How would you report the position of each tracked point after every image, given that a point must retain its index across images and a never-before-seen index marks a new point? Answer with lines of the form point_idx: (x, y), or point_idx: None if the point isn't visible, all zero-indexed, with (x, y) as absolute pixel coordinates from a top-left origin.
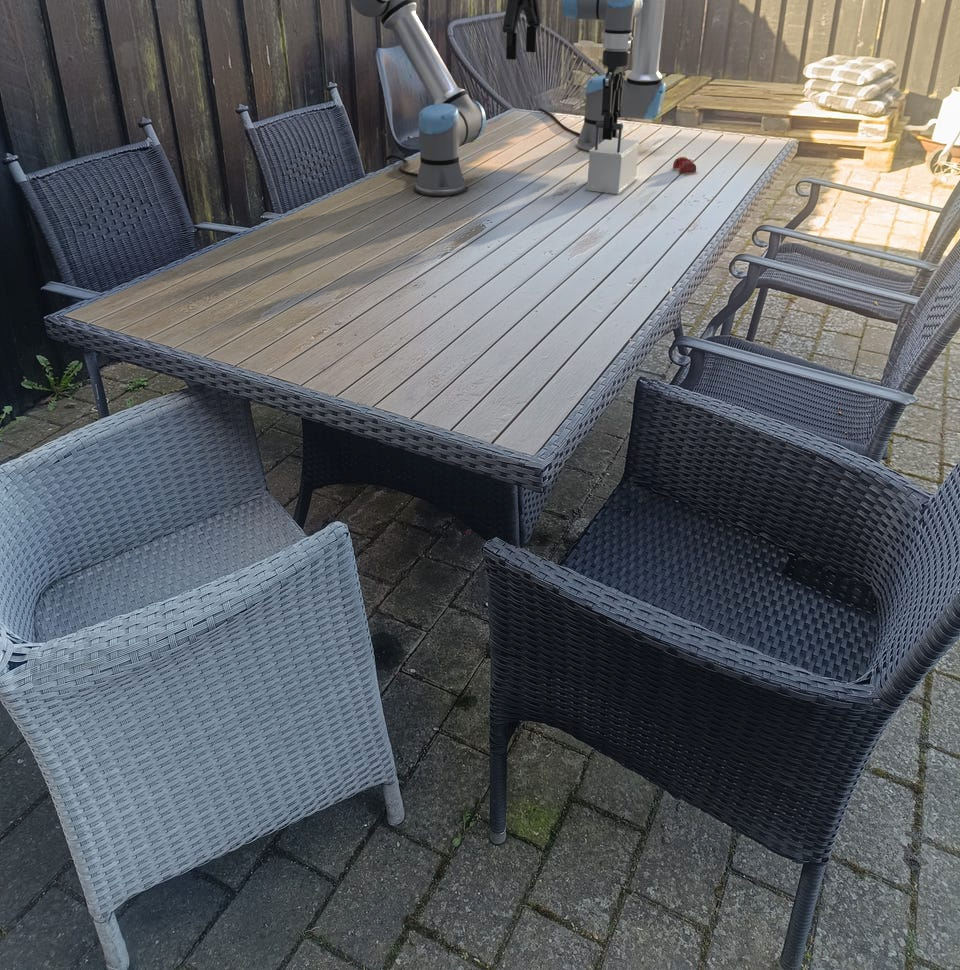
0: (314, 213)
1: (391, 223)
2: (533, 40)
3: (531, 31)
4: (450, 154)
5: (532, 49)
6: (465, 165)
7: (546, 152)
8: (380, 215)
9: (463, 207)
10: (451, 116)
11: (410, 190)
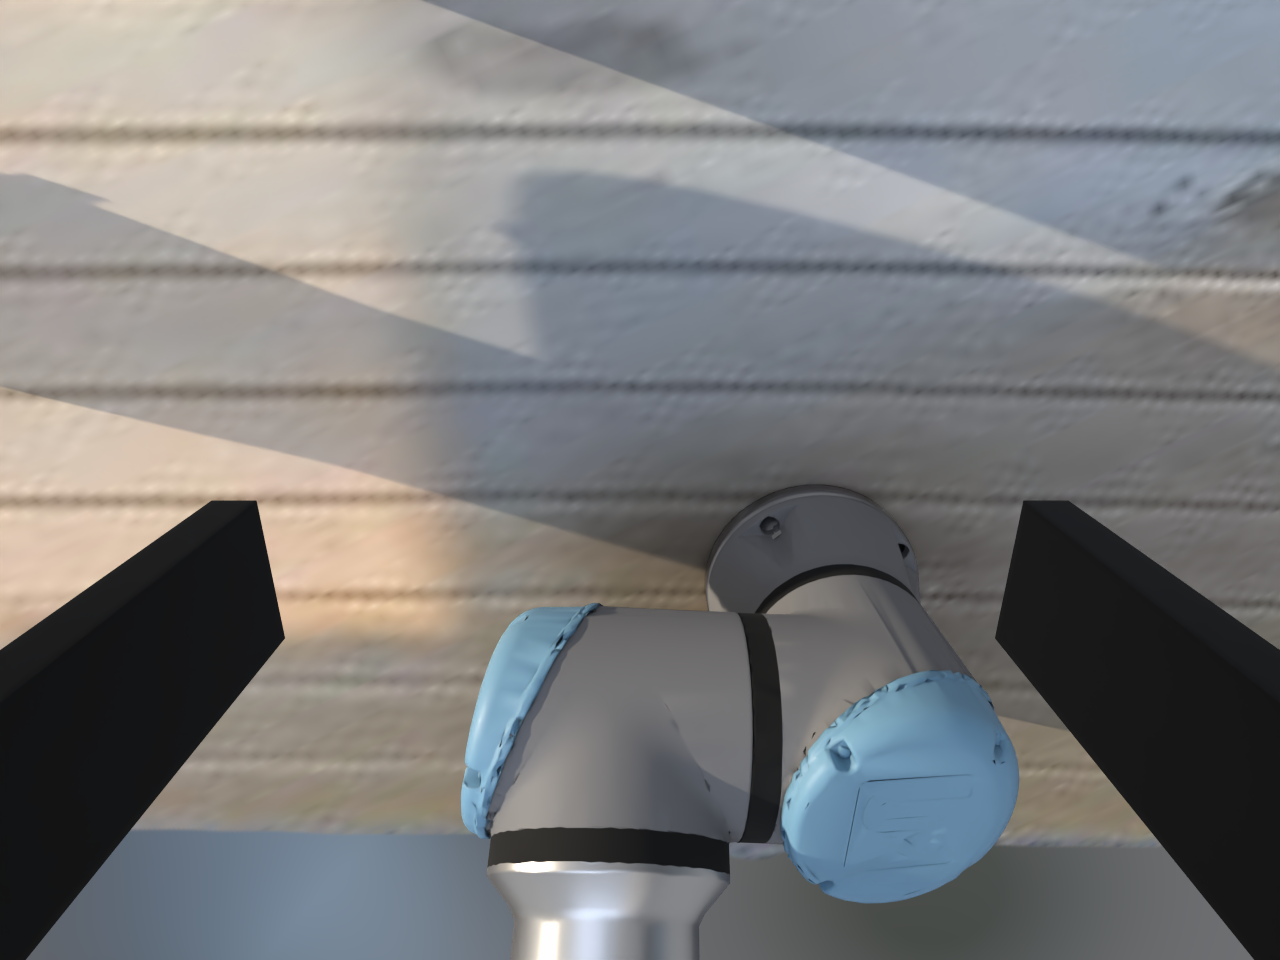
0: None
1: (1267, 544)
2: (146, 622)
3: (30, 797)
4: (902, 597)
5: (243, 555)
6: (445, 640)
7: (23, 418)
8: None
9: (1005, 391)
10: (963, 714)
11: None
